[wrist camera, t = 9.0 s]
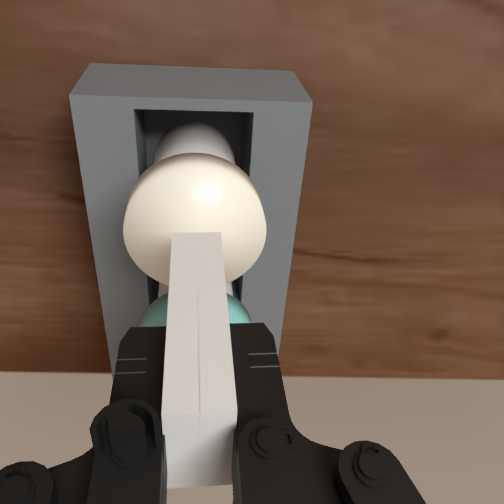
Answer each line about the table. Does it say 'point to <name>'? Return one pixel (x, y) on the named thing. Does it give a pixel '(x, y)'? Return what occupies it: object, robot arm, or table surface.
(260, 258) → the grey slotted rack
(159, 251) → the knob
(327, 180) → the table surface
